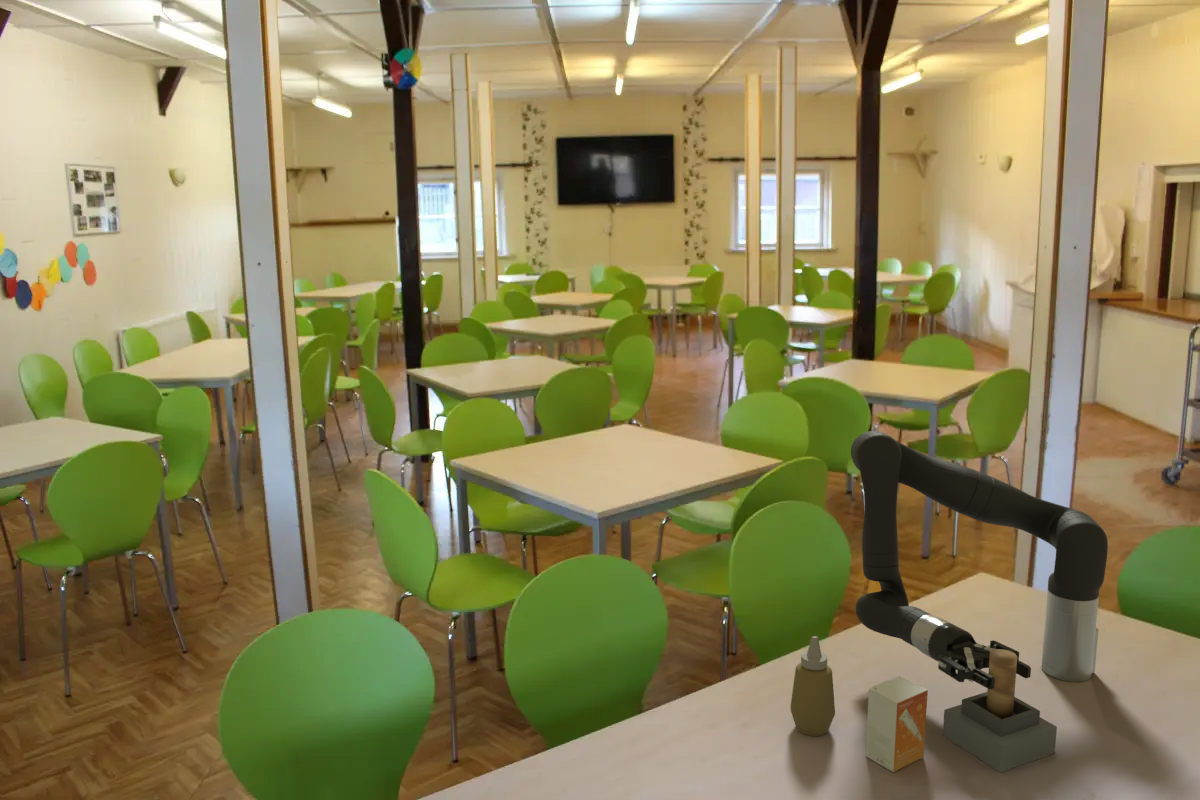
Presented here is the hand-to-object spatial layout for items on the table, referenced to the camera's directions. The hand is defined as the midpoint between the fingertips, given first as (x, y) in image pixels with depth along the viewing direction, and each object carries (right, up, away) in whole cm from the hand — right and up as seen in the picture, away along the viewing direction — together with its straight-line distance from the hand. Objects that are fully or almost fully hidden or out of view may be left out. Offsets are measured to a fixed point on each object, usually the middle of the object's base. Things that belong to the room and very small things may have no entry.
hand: (1011, 678), depth 165 cm
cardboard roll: (-1, -8, +3) cm, 9 cm away
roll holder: (-1, -13, +4) cm, 14 cm away
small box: (-20, -14, +1) cm, 24 cm away
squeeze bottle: (-32, -12, +11) cm, 36 cm away
